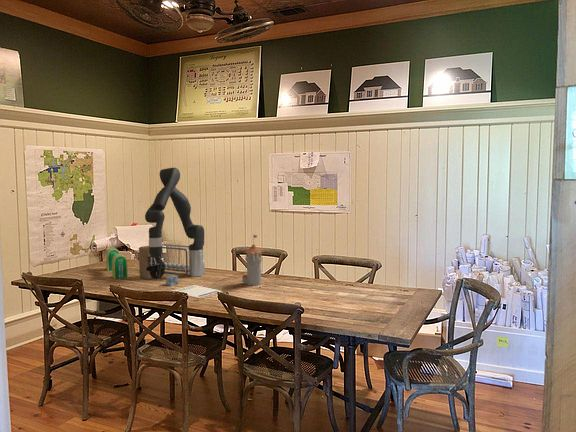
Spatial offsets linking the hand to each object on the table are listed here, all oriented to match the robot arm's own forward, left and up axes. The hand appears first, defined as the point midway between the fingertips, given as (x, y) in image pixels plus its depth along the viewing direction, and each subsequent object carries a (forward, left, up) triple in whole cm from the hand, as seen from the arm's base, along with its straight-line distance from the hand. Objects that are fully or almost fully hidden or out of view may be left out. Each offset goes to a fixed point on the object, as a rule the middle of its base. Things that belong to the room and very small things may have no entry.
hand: (156, 274), depth 270 cm
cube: (-14, -4, -9) cm, 17 cm away
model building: (-45, +33, -9) cm, 57 cm away
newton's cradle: (-38, -32, -9) cm, 51 cm away
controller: (0, 0, -2) cm, 3 cm away
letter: (-12, +20, -9) cm, 25 cm away
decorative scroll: (-12, -60, -9) cm, 62 cm away
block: (-18, -31, -9) cm, 37 cm away
